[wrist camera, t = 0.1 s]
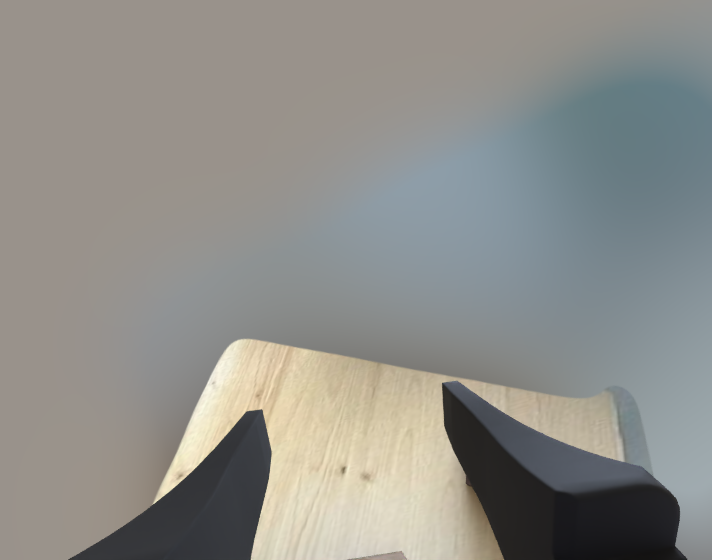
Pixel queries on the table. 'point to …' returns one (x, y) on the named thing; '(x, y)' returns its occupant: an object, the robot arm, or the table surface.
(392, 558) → the cabinet
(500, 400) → the table surface
